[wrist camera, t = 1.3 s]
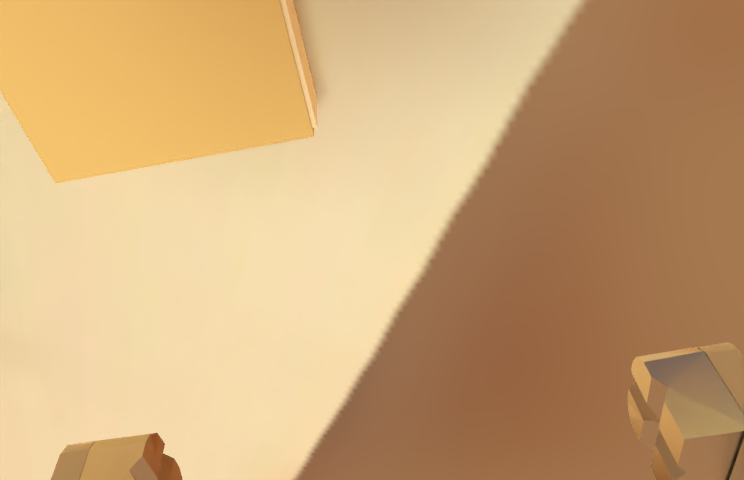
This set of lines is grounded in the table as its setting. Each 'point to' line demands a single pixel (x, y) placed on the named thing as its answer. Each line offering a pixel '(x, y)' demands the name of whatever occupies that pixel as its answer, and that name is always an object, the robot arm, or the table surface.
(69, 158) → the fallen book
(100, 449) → the robot arm
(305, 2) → the table surface
